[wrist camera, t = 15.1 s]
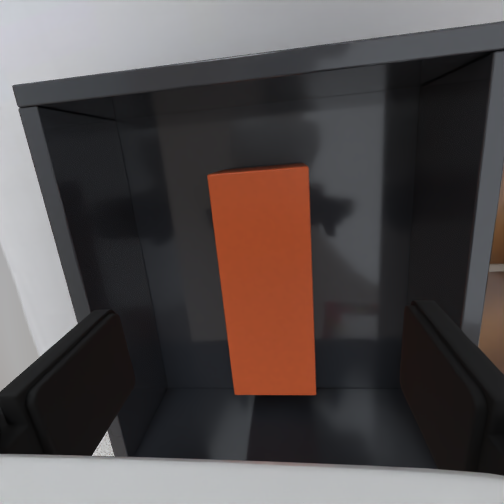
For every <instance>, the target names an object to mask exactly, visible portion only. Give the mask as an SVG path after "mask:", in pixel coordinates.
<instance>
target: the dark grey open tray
mask: <svg viewBox="0 0 504 504" xmlns="http://www.w3.org/2000/svg"><path fill="white" fill-rule="evenodd" d="M12 87H13V91H14V95H15V98H16V102H17V105H18V107H19V113H20V117H21V120H22V124H23V127H24V131H25V135H26V138H27V142H28V145H29V149H30V153H31V156H32V160H33V164H34V167H35V171H36V174H37V178H38V182H39V185H40V189H41V192H42V196H43V200H44V203H45V207H46V210H47V214H48V218H49V221H50V225H51V228H52V232H53V236H54V239H55V243H56V246H57V250H58V254H59V257H60V261H61V265H62V268H63V272H64V275H65V279H66V283H67V286H68V290H69V293H70V297H71V301H72V304H73V308H74V311H75V315H76V319H77V322H78V324H79V323H80V322H81V321H82V320H83V319H84V318H85V317H87V316H88V315H89V314H90V313H91V312H92V311H94V310H109V309H112V310H113V311H114V312H115V313H117V314H118V315H119V316H120V319H121V323H122V327H123V331H124V335H125V339H126V343H127V347H128V351H129V355H130V359H131V363H132V367H133V371H134V375H135V385H134V388H133V390H132V392H131V393H130V395H129V396H128V398H127V400H126V401H125V403H124V405H123V406H122V408H121V409H120V411H119V413H118V414H117V416H116V417H115V419H114V421H113V422H112V424H111V425H110V427H109V429H108V434H109V438H110V441H111V445H112V448H113V452H114V456H115V457H150V458H180V459H210V460H239V461H267V462H292V463H317V464H342V465H367V466H386V467H407V468H428V469H438V468H437V466H436V463H435V461H434V459H433V457H432V455H431V452H430V450H429V448H428V446H427V444H426V442H425V439H424V437H423V435H422V433H421V431H420V429H419V426H418V424H417V422H416V420H415V418H414V416H413V413H412V411H411V409H410V407H409V405H408V402H407V400H406V398H405V396H404V394H403V392H402V389H401V386H400V364H401V350H402V336H403V321H404V309H405V306H406V305H410V304H411V302H412V301H416V300H434V301H435V302H436V303H437V304H438V305H439V306H440V307H441V308H442V310H443V311H444V312H445V313H446V314H447V315H448V316H449V317H450V318H451V319H452V320H453V321H454V323H455V324H456V325H457V326H458V327H459V328H460V329H461V330H462V331H463V332H464V333H465V335H466V336H467V337H468V338H469V339H470V340H471V341H472V342H473V343H474V344H475V345H476V346H477V347H478V345H479V338H480V331H481V324H482V317H483V310H484V303H485V296H486V288H487V281H488V274H489V267H490V260H491V253H492V246H493V238H494V231H495V224H496V217H497V210H498V203H499V196H500V189H501V181H502V174H503V167H504V21H501V22H494V23H486V24H478V25H471V26H463V27H455V28H448V29H440V30H432V31H425V32H417V33H409V34H402V35H394V36H386V37H379V38H371V39H363V40H356V41H348V42H340V43H333V44H325V45H317V46H310V47H302V48H294V49H287V50H279V51H271V52H264V53H256V54H248V55H241V56H233V57H225V58H217V59H210V60H202V61H194V62H187V63H179V64H171V65H164V66H156V67H148V68H141V69H133V70H125V71H118V72H110V73H102V74H95V75H87V76H79V77H72V78H64V79H56V80H49V81H41V82H33V83H26V84H18V85H13V86H12ZM295 163H304V164H305V165H307V166H308V167H309V190H310V220H311V249H312V279H313V309H314V338H315V368H316V395H235V394H234V387H233V379H232V371H231V363H230V355H229V347H228V339H227V331H226V323H225V315H224V307H223V299H222V291H221V283H220V275H219V267H218V259H217V251H216V243H215V235H214V227H213V219H212V211H211V203H210V195H209V187H208V179H207V175H208V174H211V173H215V172H218V171H222V170H226V169H237V168H249V167H261V166H272V165H284V164H295Z"/></svg>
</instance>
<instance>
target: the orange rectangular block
mask: <svg viewBox="0 0 504 504" xmlns="http://www.w3.org/2000/svg"><path fill="white" fill-rule="evenodd" d="M207 179H208V187H209V195H210V203H211V211H212V219H213V227H214V235H215V243H216V251H217V259H218V267H219V275H220V283H221V291H222V299H223V307H224V315H225V323H226V331H227V339H228V347H229V355H230V363H231V371H232V379H233V387H234V394H235V395H316V368H315V338H314V309H313V279H312V249H311V220H310V190H309V167H308V166H307V165H305V164H304V163H295V164H284V165H272V166H261V167H249V168H237V169H226V170H222V171H218V172H215V173H211V174H208V175H207Z"/></svg>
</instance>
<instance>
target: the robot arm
mask: <svg viewBox="0 0 504 504" xmlns="http://www.w3.org/2000/svg"><path fill="white" fill-rule="evenodd" d="M134 385H135V375H134V371H133V367H132V363H131V359H130V355H129V351H128V347H127V343H126V339H125V335H124V331H123V327H122V323H121V319H120V316H119V315H118V314H117V313H115V312H114V311H113V310H112V309H109V310H94V311H92V312H91V313H90V314H89V315H88V316H87V317H85V318H84V319H83V320H82V321H81V322H80V323H79V324H77V325H76V326H75V327H74V328H73V329H72V330H71V331H69V332H68V333H67V334H66V335H65V336H64V337H62V338H61V339H60V340H59V341H58V342H57V343H56V344H54V345H53V346H52V347H51V348H50V349H49V350H48V351H46V352H45V353H44V354H43V355H42V356H41V357H40V358H38V359H37V360H36V361H35V362H34V363H33V364H31V365H30V366H29V367H28V368H27V369H26V370H25V371H23V372H22V373H21V374H20V375H19V376H18V377H17V378H15V379H14V380H13V381H12V382H11V383H10V384H9V385H7V386H6V387H5V388H4V389H3V390H2V391H1V392H0V504H504V374H503V373H502V372H501V371H500V370H499V369H498V368H497V367H496V366H495V365H494V364H493V362H492V361H491V360H490V359H489V358H488V357H487V356H486V355H485V354H484V353H483V352H482V351H481V349H480V348H479V347H477V346H476V345H475V344H474V343H473V342H472V341H471V340H470V339H469V338H468V337H467V336H466V335H465V333H464V332H463V331H462V330H461V329H460V328H459V327H458V326H457V325H456V324H455V323H454V321H453V320H452V319H451V318H450V317H449V316H448V315H447V314H446V313H445V312H444V311H443V310H442V308H441V307H440V306H439V305H438V304H437V303H436V302H435V301H434V300H416V301H412V302H411V304H410V305H406V306H405V309H404V321H403V336H402V350H401V364H400V386H401V389H402V392H403V394H404V396H405V398H406V400H407V402H408V405H409V407H410V409H411V411H412V413H413V416H414V418H415V420H416V422H417V424H418V426H419V429H420V431H421V433H422V435H423V437H424V439H425V442H426V444H427V446H428V448H429V450H430V452H431V455H432V457H433V459H434V461H435V463H436V466H437V468H438V469H428V468H407V467H386V466H367V465H342V464H317V463H292V462H267V461H239V460H210V459H180V458H150V457H114V456H92V454H93V453H94V451H95V449H96V448H97V446H98V445H99V443H100V441H101V440H102V438H103V437H104V435H105V433H106V432H107V430H108V429H109V427H110V425H111V424H112V422H113V421H114V419H115V417H116V416H117V414H118V413H119V411H120V409H121V408H122V406H123V405H124V403H125V401H126V400H127V398H128V396H129V395H130V393H131V392H132V390H133V388H134Z"/></svg>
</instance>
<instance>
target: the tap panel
mask: <svg viewBox="0 0 504 504" xmlns="http://www.w3.org/2000/svg"><path fill="white" fill-rule="evenodd" d="M478 347H479V348H480V349H481V351H482V352H483V353H484V354H485V355H486V356H487V357H488V358H489V359H490V360H491V361H492V362H493V364H494V365H495V366H496V367H497V368H498V369H499V370H500V371H501V372H502V373H503V374H504V167H503V174H502V181H501V189H500V196H499V203H498V210H497V217H496V224H495V231H494V238H493V246H492V253H491V260H490V267H489V274H488V281H487V288H486V296H485V303H484V310H483V317H482V324H481V331H480V338H479V345H478Z"/></svg>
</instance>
